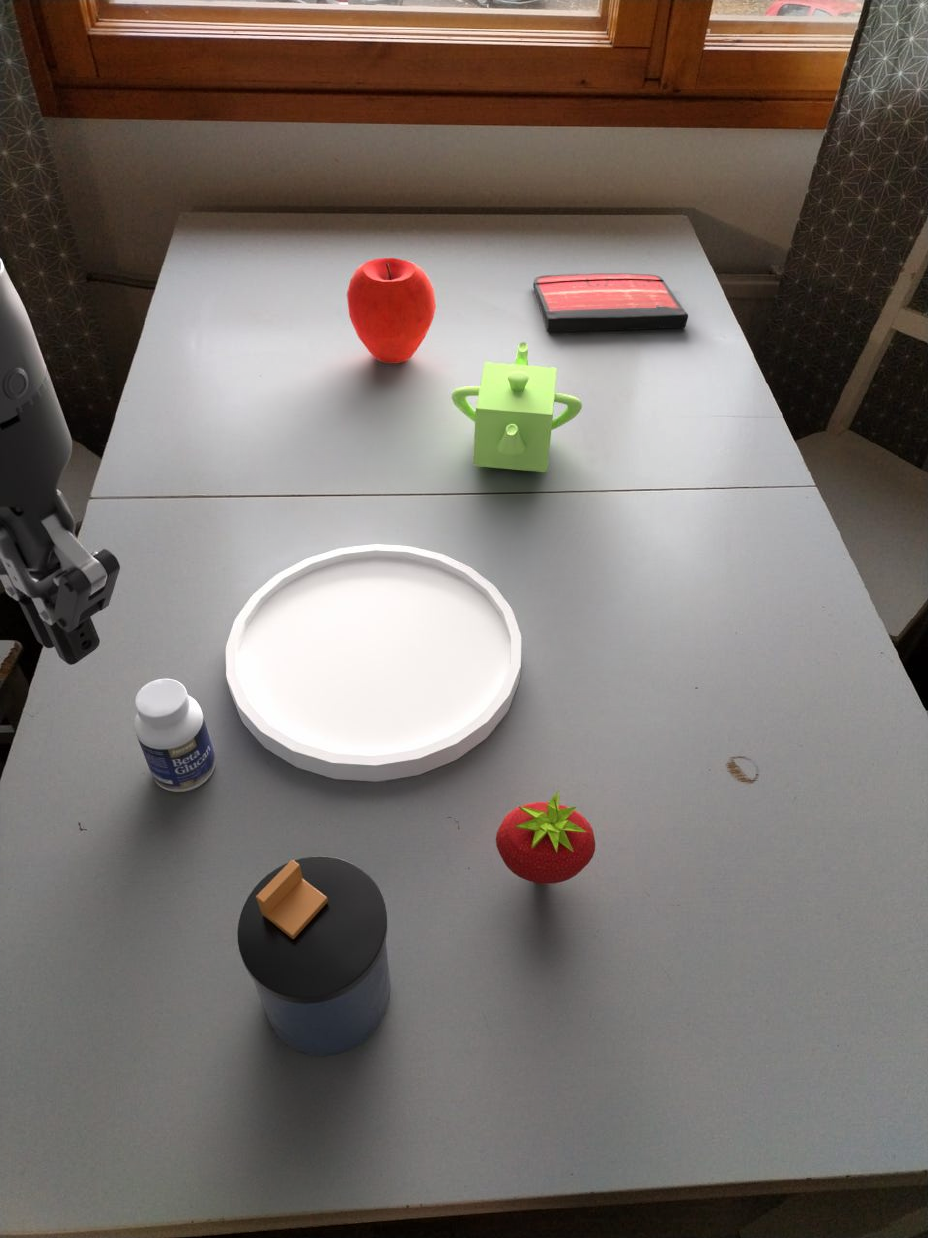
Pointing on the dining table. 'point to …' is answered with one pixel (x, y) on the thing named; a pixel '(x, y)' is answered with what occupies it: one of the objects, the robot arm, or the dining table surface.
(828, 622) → the dining table surface
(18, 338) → the robot arm
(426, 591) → the plate
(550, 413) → the teapot
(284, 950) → the travel cup
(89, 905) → the dining table surface
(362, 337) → the apple
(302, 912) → the orange l-shaped block
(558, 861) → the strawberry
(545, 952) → the dining table surface
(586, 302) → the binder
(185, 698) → the pill bottle
